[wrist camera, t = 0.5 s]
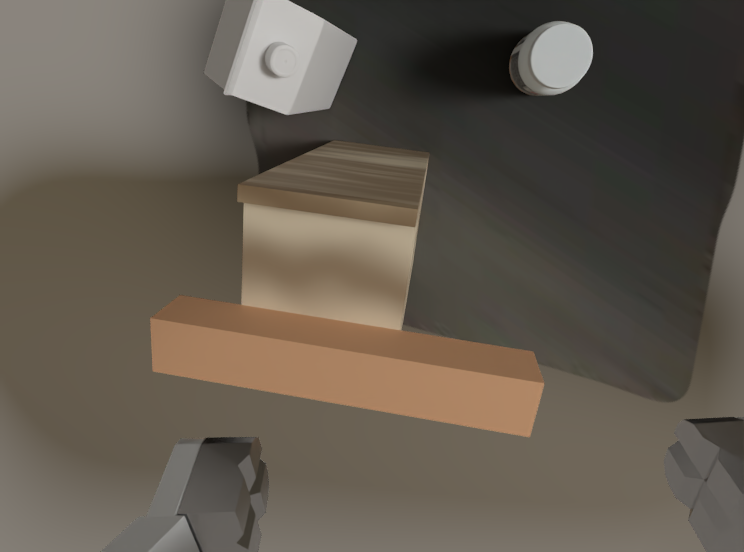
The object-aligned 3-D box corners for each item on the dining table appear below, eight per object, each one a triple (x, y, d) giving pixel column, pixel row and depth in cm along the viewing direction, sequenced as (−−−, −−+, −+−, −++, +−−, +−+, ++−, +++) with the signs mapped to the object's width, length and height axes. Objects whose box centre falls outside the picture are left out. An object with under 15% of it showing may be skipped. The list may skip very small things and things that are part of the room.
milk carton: (267, 78, 52) (176, 71, 34) (292, 7, 49) (208, -41, 31) (329, 109, 52) (271, 118, 34) (358, 40, 49) (311, 11, 32)
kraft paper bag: (334, 140, 53) (237, 184, 28) (429, 152, 52) (417, 209, 27) (324, 256, 58) (233, 385, 32) (411, 269, 57) (387, 411, 32)
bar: (180, 294, 32) (150, 318, 28) (533, 351, 30) (544, 383, 27) (181, 343, 33) (152, 371, 30) (520, 401, 31) (529, 437, 28)
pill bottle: (558, 101, 49) (585, 103, 40) (500, 88, 49) (513, 87, 40) (578, 37, 47) (612, 24, 38) (518, 24, 47) (537, 8, 38)
